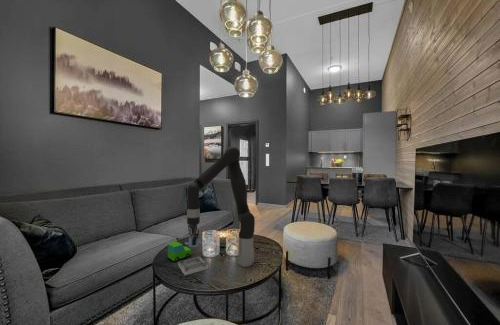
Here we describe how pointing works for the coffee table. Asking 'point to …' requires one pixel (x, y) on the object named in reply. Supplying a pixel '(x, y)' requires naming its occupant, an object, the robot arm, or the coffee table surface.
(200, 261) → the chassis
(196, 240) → the block
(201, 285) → the coffee table surface
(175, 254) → the toy car
